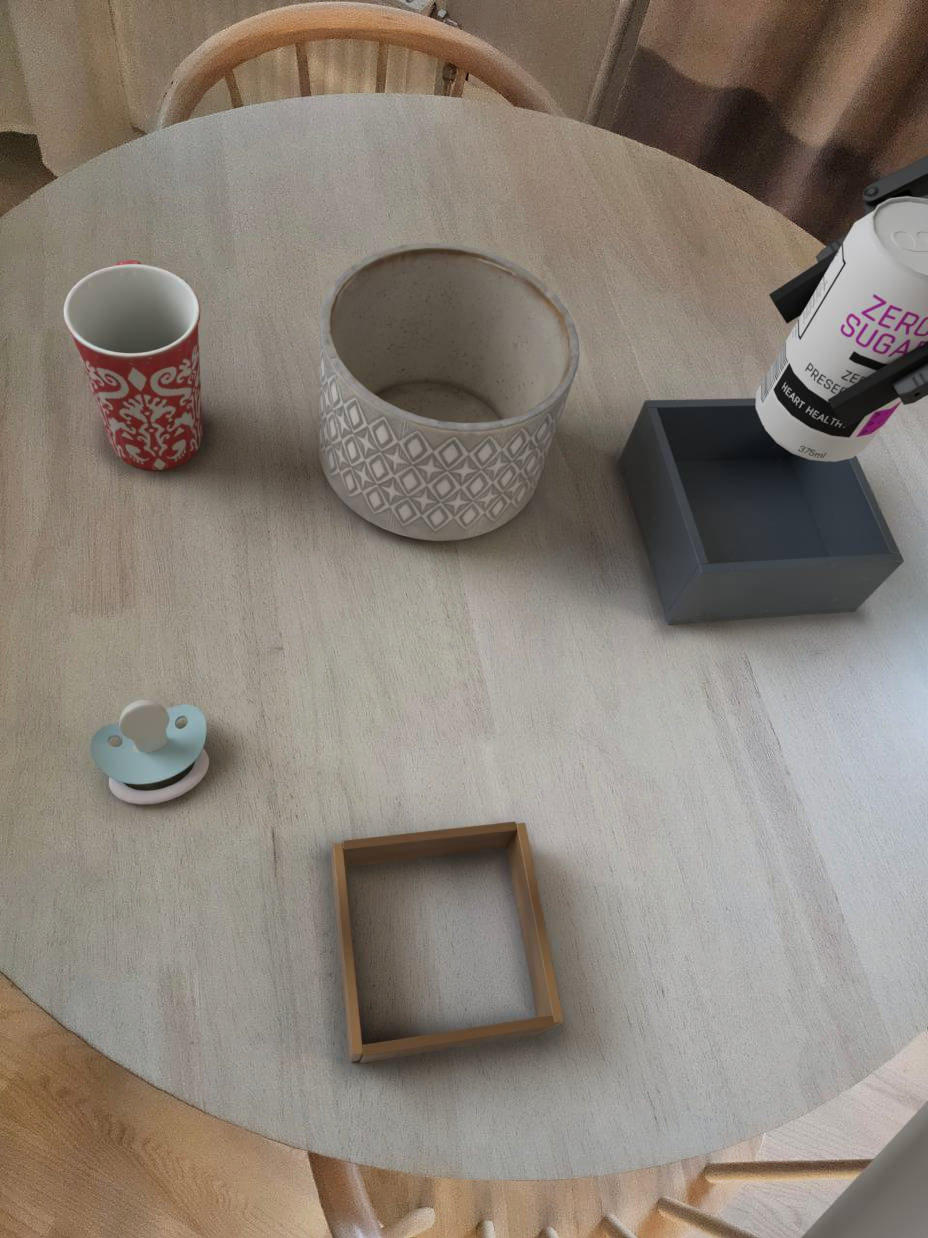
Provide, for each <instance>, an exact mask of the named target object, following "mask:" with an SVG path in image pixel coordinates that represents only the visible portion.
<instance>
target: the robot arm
mask: <svg viewBox="0 0 928 1238" xmlns="http://www.w3.org/2000/svg"><path fill="white" fill-rule="evenodd" d="M905 196H909V197H916V198H923V199H928V155H926V156H924V157H922V158H920V159H918V160H916V161H914V162H912V163H910V164H908V165H906V166H904V167H902V168H900V169H898V170H896V171H894V172H892V173H890V174H888V175H886V176H885V177H882V178H880V179H878V180H876V181H874V182H873V183H870V184H869V185H867V186H866V187H865V188H864V189H863V190H862V193H861V198H862V201H863V204H864V205H863V206H864V217H865V216H866V215H868V214H869V213H871V212H873V211H874V210H875V209H876V207H877V206H878V205H879V204H881V203H883V202H884V201H886V200H888V199H890V198H897V197H905ZM849 232H850V231H848V232H846V233H845V234H844V235H842V236H841V237H838V239H837V240H835V241H833V242H831V244H828V245H827V246H825V247H824V248H822V249H821V250H820V251H819V252H818V254H816V256H815V259H816V261H817V263H815V264H814V265H812V266H810V267H809V268H807V269H806V270H804V271H803V272H801V273H800V274H798V275H796V276H795V277H794V278H792V279H790V280H789V281H788V282H786V283H784V284H783V285H781V286H780V287H778V288H776V289H775V290H773V291H772V292H770V293H769V294H768V296H769V298H770V299H771V301H772V303H773V304H774V306H775V307H776V310H777V311H778V313H779V314H780V316H781V317H782V319H783V321H784V322H785V324H786V325H788V324H789V323H791V322H792V321H794V320H795V319H798V318H800V316H801V314H802V313H803V311H804V309H805V307H806V306H807V304H808V302H809V301H810V299H811V297H812V295H813V294H814V292H815V290H816V288H817V287H818V285H819V283H820V282H821V280H822V278H823V276H824V275H825V273H826V271H827V270H828V268H829V266H830V264H831V263H832V261H833V259H834V257H835V256H836V254H837V252H838V251H839V249H840V247H841V245H842V244H843V242H844V240H845V239H846V237H847V235H848V233H849ZM927 396H928V342H926V343H925V344H923V345H921V346H919V347H917V348H915V349H913V350H912V351H910V352H908V353H907V354H905V355H903V356H901V357H900V358H898V359H896V360H895V361H893V362H891V363H889V364H888V365H886V366H884V367H883V368H881V369H879V370H877V371H876V372H874V373H872V374H871V375H869V376H867V377H866V378H864V379H862V380H860V381H859V382H857V383H855V384H854V385H852V386H850V387H848V388H847V389H845V390H843V391H842V392H840V393H838V394H836V395H835V396H833V397H831V398H830V399H828V402H829V404H830V405H831V407H832V409H833V411H834V412H835V414H836V415H837V417H838V418H839V420H840V421H841V423H842V424H843V426H844V427H845V428H846V427H848V426H849V425H851V424H853V423H855V422H856V421H858V420H860V419H862V418H863V417H865V416H867V415H869V414H871V413H872V412H874V411H876V410H878V409H879V408H881V407H883V406H885V405H886V404H888V403H890V402H892V401H894V400H895V399H897V398H900V399H901V401H902V402H901V403H902V405H903V406H907V405H911V404H915V403H916V402H918V401H920V400H922V399H924V398H925V397H927ZM800 1238H928V1100H926V1102H924V1104H923V1105H922V1106H921V1107H920V1108H919V1109H918V1110H917V1112H916V1113H914V1115H913V1116H912V1117H911V1118H910V1119H909V1120H907V1122H906V1123H905V1125H904V1126H902V1128H900V1130H899V1131H898V1132H897V1133H896V1134H895V1135H894V1136H893V1137H892V1139H890V1141H888V1143H887V1144H886V1145H885V1146H884V1147H883V1148H882V1149H881V1150H880V1152H879V1153H878V1154H877V1155H876V1156H875V1157H874V1158H873V1159H872V1160H871V1161H870V1162H869V1163H868V1164H867V1165H866V1167H865V1168H864V1169H863V1170H862V1171H861V1172H860V1173H859V1174H858V1175H857V1176H856V1178H855V1179H853V1181H852V1182H851V1183H850V1184H849V1185H848V1186H847V1187H846V1188H845V1189H844V1191H842V1192H841V1194H840V1195H839V1196H838V1197H837V1198H836V1199H835V1200H834V1201H833V1202H832V1204H831V1205H830V1206H829V1207H828V1208H827V1209H826V1210H825V1211H824V1212H823V1213H822V1214H821V1215H820V1217H818V1219H817V1220H816V1221H815V1222H814V1223H813V1224H812V1225H811V1226H810V1227H809V1228H808V1230H806V1231H805V1233H804V1234H803V1235H802V1236H801V1237H800Z"/></svg>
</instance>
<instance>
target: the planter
mask: <svg viewBox="0 0 928 1238" xmlns="http://www.w3.org/2000/svg"><path fill="white" fill-rule="evenodd" d="M579 341H580V340H579V336H578V332H577V328H576V324H575V323H574V320H573V319H572V317H571V315H570V313H569V311H568V309H567V307H566V306H565V305H564V303H563V302H562V300H561V299H560V298H559V297H558V296H557V294H556V293H554V291H552V289H551V288H550V287H549V286H548V285H547V284H546V283H545V282H543V281H542V280H540V279H539V278H538V277H537V276H536V275H534V274H533V273H532V272H530V271H529V270H526V268H523V267H522V266H521V265H519V264H517V263H515V262H513V261H510V260H509V259H507V258H504V257H503V256H500V255H497V254H494V253H492V252H489V251H486V250H484V249H479V248H475V247H472V246H471V247H470V246H466V245H461V244H454V243H453V244H452V243H447V242H446V243H445V242H420V243H419V242H418V243H407V244H402V245H397V246H393V247H388V248H386V249H383V250H380V251H377V252H374V253H372V254H370V255H367V256H366V257H364V258H362V259H360V260H358V261H357V262H355V263H354V264H353V265H352V266H350V267H348V268H347V269H346V270H345V271H344V272H343V273H342V274H341V275H339V277H338V278H337V279H336V280H335V281H334V283H333V284H332V286H331V287H330V289H329V291H328V293H327V294H326V297H325V299H324V302H323V305H322V308H321V314H320V324H319V362H318V363H319V367H318V410H317V411H318V412H317V413H318V414H317V450H318V451H317V452H318V459H319V462H320V465H321V469H322V472H323V473H324V476H325V477H326V480H327V481H328V483H329V485H330V487H331V488H332V489H333V491H334V492H335V493H336V495H337V496H338V497H339V499H340V500H341V501H343V503H344V504H346V505H347V507H349V509H351V511H353V512H354V513H355V514H358V516H360V517H361V518H363V519H364V520H365V521H367V522H369V523H371V524H373V525H375V526H377V527H378V528H381V529H383V530H385V531H388V532H390V533H394V534H396V535H400V536H403V537H408V538H412V539H416V540H422V541H423V540H424V541H433V542H434V541H435V542H445V541H446V542H447V541H459V540H465V539H470V538H475V537H479V536H481V535H484V534H487V533H490V532H492V531H495V530H496V529H499V528H500V527H502V526H504V525H505V524H507V523H508V522H509V521H511V520H512V519H513V518H515V517H517V516H518V514H519V513H520V512H521V511H522V510H523V509H524V508H525V507H526V506H527V505H528V503H529V502H530V500H531V498H532V497H533V495H534V494H535V492H536V488H537V487H538V484H539V482H540V479H541V475H542V472H543V470H544V467H545V464H546V461H547V459H548V455H549V452H550V449H551V447H552V443H553V441H554V438H555V434H556V432H557V430H558V429H557V428H558V426H559V424H560V420H561V417H562V415H563V411H564V408H565V405H566V402H567V400H568V397H569V394H570V391H571V388H572V386H573V383H574V380H575V377H576V374H577V370H578V368H579V360H580V342H579Z"/></svg>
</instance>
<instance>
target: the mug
mask: <svg viewBox="0 0 928 1238" xmlns="http://www.w3.org/2000/svg"><path fill="white" fill-rule="evenodd" d="M201 311H202V309H201V303H200V300H199V297H198V296H197V293H196V292H195V290H194V289H193V288H192V286H191V285H190V284H189V283H188V282H187V281H185V280H184V279H183V278H182V277H180V276H179V275H178V274H175V273H174V272H172V271H169V270H167V269H164V268H162V267H158V266H153V265H148V264H142V263H141V262H140V261H139V260H135V259H134V260H133V259H131V260H121V261H118V262H117V263H116V264H115V265H111V266H109V267H105V268H101V269H98V270H96V271H93V272H91V273H89V274H87V275H86V276H84V277H82V278H81V279H80V280H79V281H78V282H77V283H76V284H75V285H73V286H72V287H71V289H70V290H69V292H68V294H67V295H66V297H65V300H64V304H63V309H62V315H63V320H64V323H65V326H66V329H67V330H68V332H69V334H70V335H71V336H72V338H73V341H74V344H75V348H76V350H77V353H78V356H79V358H80V361H81V363H82V367H83V371H84V372H85V374H86V377H87V380H88V384H89V386H90V389H91V392H92V395H93V397H94V400H95V403H96V406H97V409H98V412H99V415H100V418H101V420H102V423H103V426H104V429H105V432H106V435H107V438H108V440H109V444H110V445H111V448H112V449H113V451H114V452H115V454H116V455H117V456H118V457H119V458H120V459H121V460H122V461H123V462H125V463H126V464H129V465H131V466H133V467H136V468H137V469H138V468H139V469H143V470H146V471H147V470H148V471H164V470H168V469H169V470H170V469H172V468H176V467H178V466H181V465H183V464H184V463H186V462H188V461H189V460H190V459H192V458H193V457H194V456H195V454H196V453H197V452H198V450H199V449H200V447H201V445H202V442H203V435H204V433H203V432H204V431H203V430H204V429H203V415H202V390H201V388H202V383H201V382H202V381H201V366H200V365H201V363H200V338H199V337H200V334H199V323H200V319H201Z"/></svg>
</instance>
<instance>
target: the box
mask: <svg viewBox="0 0 928 1238" xmlns="http://www.w3.org/2000/svg"><path fill="white" fill-rule="evenodd" d="M526 825H527V824H526V822H518V823H517V822H516V821H507V822H499V823H490V824H482V825H480V824H479V825H471V826H463V827H461V826H460V827H454V828H453V827H452V828H444V829H436V830H426V831H418V832H417V831H416V832H409V833H401V834H392V835H391V834H390V835H382V836H381V835H380V836H373V837H365V838H355V839H345V840H342V842H341V843H340V842H339V843H333V844H332V850H331V860H330V861H331V862H330V865H331V874H332V876H331V877H332V884H333V885H332V886H333V897H334V908H335V909H334V910H335V919H336V930H337V931H336V932H337V941H338V954H339V963H340V974H341V975H340V976H341V983H342V984H341V987H342V996H343V998H342V999H343V1007H344V1020H345V1029H346V1041H347V1051H348V1062H349V1063H354V1062H359V1064H365V1063H370V1062H371V1063H372V1062H377V1061H384V1060H390V1059H397V1058H402V1057H408V1056H409V1057H410V1056H415V1055H421V1054H428V1053H434V1052H441V1051H445V1050H453V1049H459V1048H464V1047H472V1046H478V1045H483V1044H490V1043H496V1042H503V1041H509V1040H514V1039H515V1040H516V1039H522V1038H528V1037H533V1036H539V1035H541V1034H543V1033H545V1032H548V1031H550V1030H552V1029H553V1028H555V1027H557V1026H558V1025H560V1024H562V1023H563V1022H564V1015H563V1011H562V1010H563V1009H562V1006H561V1001H560V995H559V991H558V985H557V980H556V975H555V974H556V973H555V970H554V963H553V959H552V954H551V949H550V943H549V937H548V933H547V928H546V923H545V918H544V912H543V908H542V902H541V896H540V892H539V886H538V882H537V876H536V871H535V866H534V861H533V857H532V851H531V846H530V840H529V835H528V831H527V826H526ZM500 849H501V850H503V849H506V854H507V860H508V866H509V870H510V876H511V882H512V888H513V894H514V898H515V905H516V909H517V915H518V919H519V925H520V931H521V937H522V942H523V943H522V944H523V948H524V953H525V958H526V959H525V960H526V963H527V964H526V965H527V971H528V976H529V981H530V987H531V993H532V997H533V1004H534V1009H535V1014H536V1017H533V1018H532V1017H531V1018H525V1019H519V1020H514V1021H513V1020H512V1021H507V1022H500V1023H493V1024H487V1025H481V1026H475V1027H469V1028H462V1029H456V1030H455V1029H454V1030H449V1031H443V1032H436V1033H430V1034H429V1033H428V1034H424V1035H418V1036H412V1037H404V1038H398V1039H392V1040H385V1041H379V1042H374V1043H373V1042H372V1043H366V1044H363V1038H362V1028H361V1018H360V1017H361V1016H360V1008H359V999H358V987H357V977H356V967H355V956H354V945H353V935H352V925H351V915H350V907H349V906H350V905H349V894H348V885H347V884H348V883H347V876H346V868H348V867H349V868H350V867H358V866H366V865H374V864H375V865H376V864H382V863H392V862H399V861H408V860H416V859H425V858H433V857H442V856H451V855H459V854H460V855H461V854H467V853H475V852H476V853H477V852H485V851H493V850H500Z"/></svg>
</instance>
